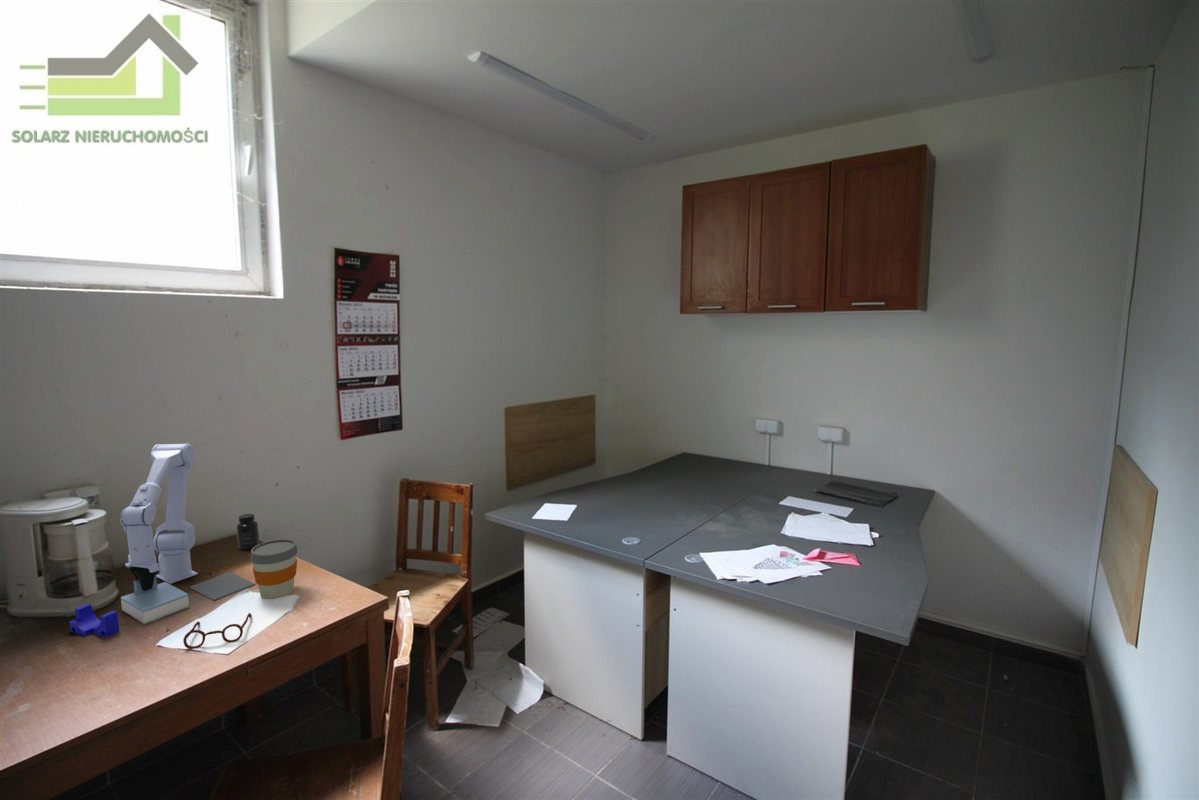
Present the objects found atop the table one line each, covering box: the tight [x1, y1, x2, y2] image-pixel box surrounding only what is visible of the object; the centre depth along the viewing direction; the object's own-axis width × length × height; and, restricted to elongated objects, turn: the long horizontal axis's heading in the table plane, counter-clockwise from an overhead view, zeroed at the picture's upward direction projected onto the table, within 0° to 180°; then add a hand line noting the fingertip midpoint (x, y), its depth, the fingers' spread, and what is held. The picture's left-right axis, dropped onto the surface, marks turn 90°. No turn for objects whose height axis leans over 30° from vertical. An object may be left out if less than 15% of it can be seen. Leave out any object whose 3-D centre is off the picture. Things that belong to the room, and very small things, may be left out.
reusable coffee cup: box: [250, 538, 298, 600], centre depth 172 cm, size 12×13×15 cm
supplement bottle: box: [235, 513, 261, 551], centre depth 205 cm, size 7×7×12 cm
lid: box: [120, 574, 189, 613], centre depth 161 cm, size 14×11×6 cm
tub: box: [120, 595, 190, 625], centre depth 162 cm, size 14×11×4 cm
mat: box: [188, 571, 256, 602], centre depth 176 cm, size 15×12×1 cm
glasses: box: [182, 612, 252, 650], centre depth 151 cm, size 13×13×5 cm
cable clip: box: [69, 603, 120, 638], centre depth 150 cm, size 12×4×6 cm, turn 72°
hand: (146, 588), depth 164 cm, fingers closed on lid
